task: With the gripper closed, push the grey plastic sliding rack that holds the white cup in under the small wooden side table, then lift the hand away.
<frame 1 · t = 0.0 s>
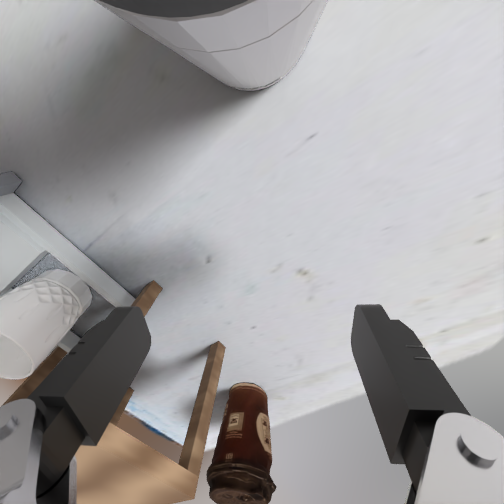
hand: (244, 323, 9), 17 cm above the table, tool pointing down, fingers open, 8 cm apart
coffee cup: (249, 393, 41), on the table
wooden side table: (133, 342, 36), on the table
glass rack: (25, 299, 28), point 4 cm above the table, slide at 10.0 cm
white cup: (68, 288, 33), resting in glass rack
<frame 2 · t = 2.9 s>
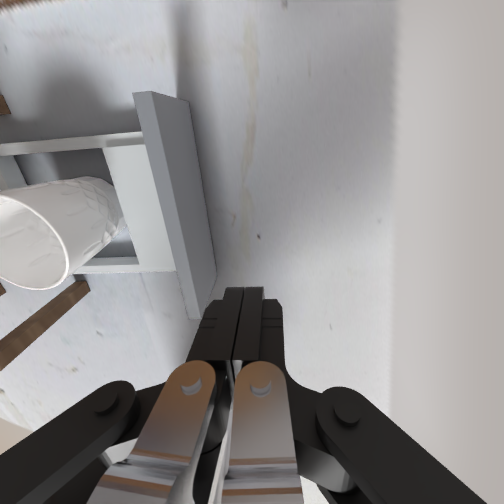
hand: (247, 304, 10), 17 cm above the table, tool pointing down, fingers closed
wooden side table: (6, 213, 28), on the table
glass rack: (92, 219, 23), point 4 cm above the table, slide at 10.0 cm
white cup: (100, 206, 27), resting in glass rack
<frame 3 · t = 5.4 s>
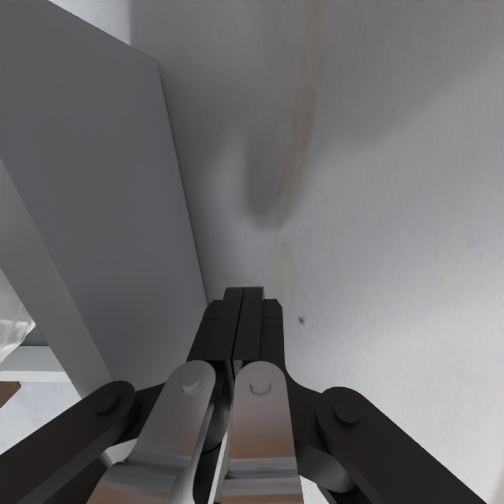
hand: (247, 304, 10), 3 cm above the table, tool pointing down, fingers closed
white cup: (14, 267, 15), resting in glass rack
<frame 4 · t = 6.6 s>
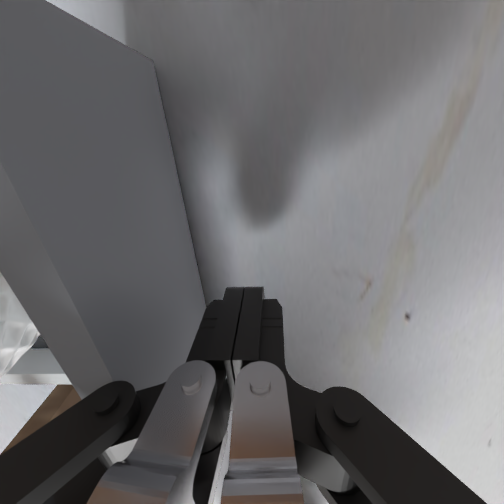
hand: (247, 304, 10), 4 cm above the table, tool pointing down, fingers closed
white cup: (22, 269, 15), resting in glass rack
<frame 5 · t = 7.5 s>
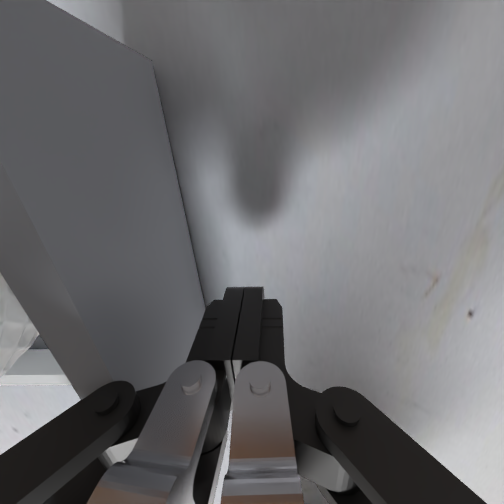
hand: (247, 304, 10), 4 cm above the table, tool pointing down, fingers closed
white cup: (19, 270, 15), resting in glass rack
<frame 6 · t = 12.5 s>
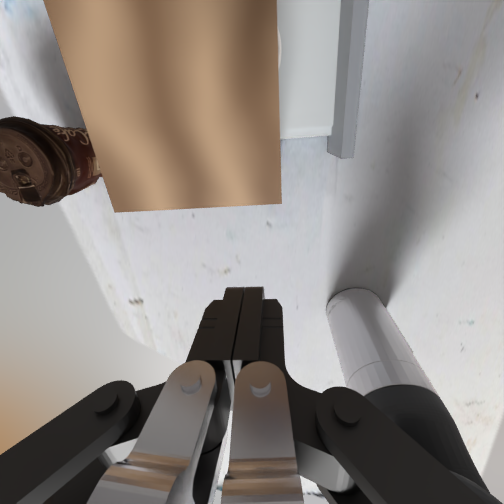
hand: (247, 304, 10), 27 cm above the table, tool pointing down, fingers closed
coffee cup: (101, 154, 35), on the table
wooden side table: (224, 78, 29), on the table
glass rack: (251, 67, 25), point 4 cm above the table, slide at 0.0 cm
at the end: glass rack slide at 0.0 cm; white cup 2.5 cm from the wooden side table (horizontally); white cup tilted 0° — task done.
